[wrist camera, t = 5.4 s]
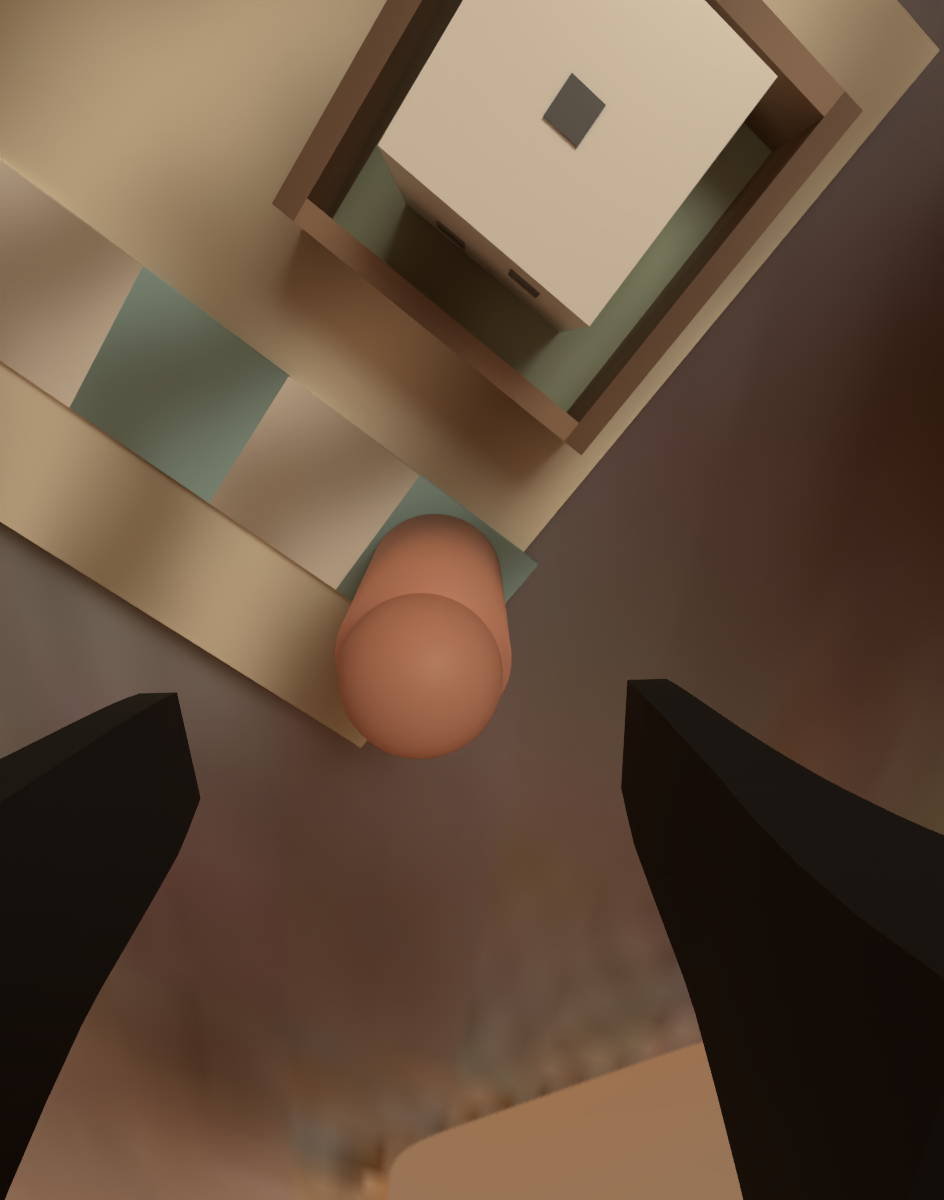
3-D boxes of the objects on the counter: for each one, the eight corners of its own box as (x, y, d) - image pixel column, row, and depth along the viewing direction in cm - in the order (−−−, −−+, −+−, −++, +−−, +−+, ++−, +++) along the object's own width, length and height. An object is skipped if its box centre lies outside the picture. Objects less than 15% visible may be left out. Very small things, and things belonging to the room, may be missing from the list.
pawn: (528, 566, 18) (561, 703, 11) (448, 659, 19) (435, 835, 12) (422, 486, 17) (389, 581, 10) (345, 588, 18) (270, 734, 11)
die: (689, 156, 14) (778, 74, 10) (558, 334, 16) (588, 328, 11) (528, -1, 13) (552, -161, 9) (403, 203, 15) (372, 144, 10)
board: (924, 84, 15) (1051, 10, 12) (378, 738, 21) (360, 809, 18) (263, -670, 11) (174, -1096, 8) (-158, 397, 17) (-304, 408, 14)
